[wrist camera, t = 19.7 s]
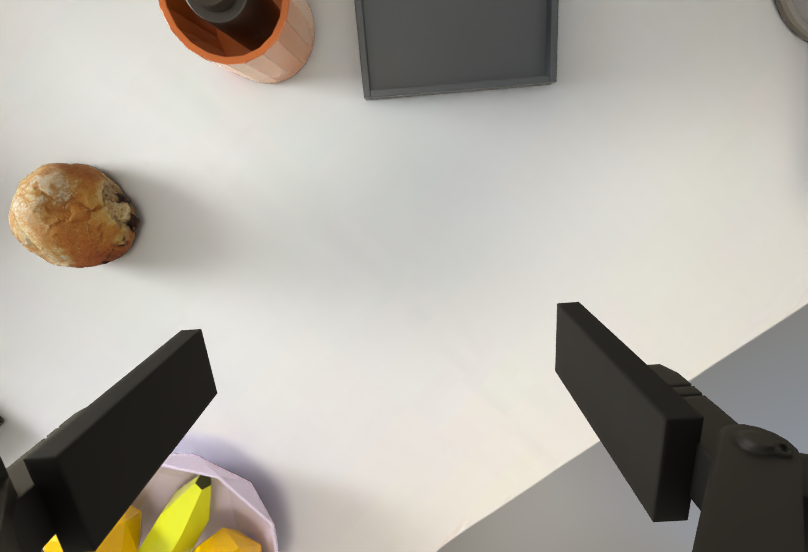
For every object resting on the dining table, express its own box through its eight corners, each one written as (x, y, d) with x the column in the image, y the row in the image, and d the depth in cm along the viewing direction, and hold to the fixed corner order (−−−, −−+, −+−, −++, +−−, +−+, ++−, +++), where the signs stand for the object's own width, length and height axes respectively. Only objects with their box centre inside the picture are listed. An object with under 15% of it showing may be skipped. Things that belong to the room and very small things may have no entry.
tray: (553, -88, 35) (561, -99, 33) (550, 84, 38) (556, 81, 37) (349, -69, 35) (346, -80, 33) (365, 100, 39) (364, 98, 37)
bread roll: (92, 153, 43) (-8, 139, 36) (157, 190, 40) (62, 182, 33) (77, 240, 46) (-18, 243, 39) (137, 281, 43) (46, 293, 35)
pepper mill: (282, -5, 36) (232, -70, 25) (290, 52, 37) (246, 13, 26) (231, 0, 36) (161, -63, 25) (241, 56, 37) (178, 19, 26)
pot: (306, -36, 36) (277, -95, 27) (321, 79, 38) (298, 58, 30) (202, -27, 36) (140, -83, 27) (224, 87, 38) (173, 69, 30)
